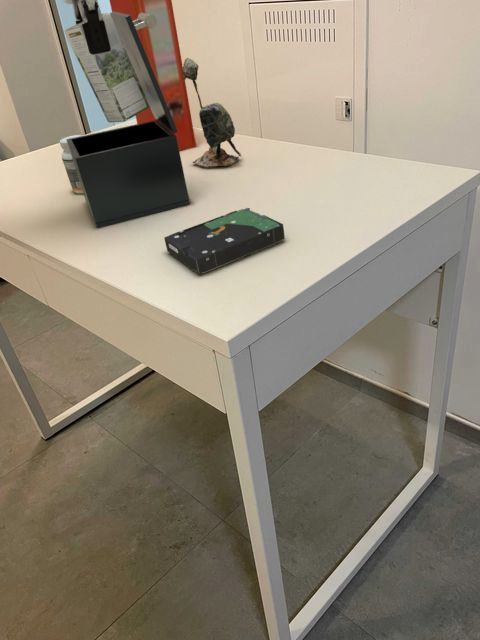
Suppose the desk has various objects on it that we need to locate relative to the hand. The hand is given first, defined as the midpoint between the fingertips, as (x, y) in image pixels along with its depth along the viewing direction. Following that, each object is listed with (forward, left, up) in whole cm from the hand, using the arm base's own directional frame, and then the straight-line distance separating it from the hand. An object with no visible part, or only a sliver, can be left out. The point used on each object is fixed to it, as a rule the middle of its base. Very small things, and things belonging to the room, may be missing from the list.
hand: (96, 49), depth 85 cm
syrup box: (+3, 0, -10) cm, 11 cm away
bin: (0, 0, -25) cm, 25 cm away
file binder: (+15, +35, -25) cm, 46 cm away
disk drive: (+8, -27, -25) cm, 38 cm away
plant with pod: (+20, +11, -25) cm, 34 cm away
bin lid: (+6, 0, -4) cm, 8 cm away
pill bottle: (-7, +15, -25) cm, 30 cm away
